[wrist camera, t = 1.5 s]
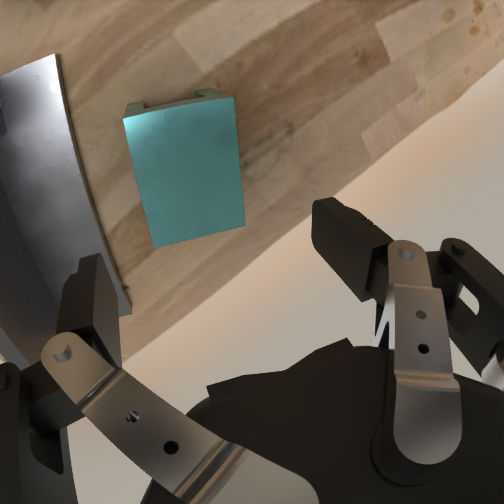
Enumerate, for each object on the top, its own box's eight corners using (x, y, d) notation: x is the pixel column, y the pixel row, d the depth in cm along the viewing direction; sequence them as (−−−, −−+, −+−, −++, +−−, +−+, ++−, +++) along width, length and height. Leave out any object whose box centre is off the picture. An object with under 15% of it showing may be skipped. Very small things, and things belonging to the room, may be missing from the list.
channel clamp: (127, 104, 19) (123, 118, 14) (210, 88, 20) (233, 97, 15) (149, 206, 24) (154, 248, 19) (222, 189, 25) (245, 225, 20)
